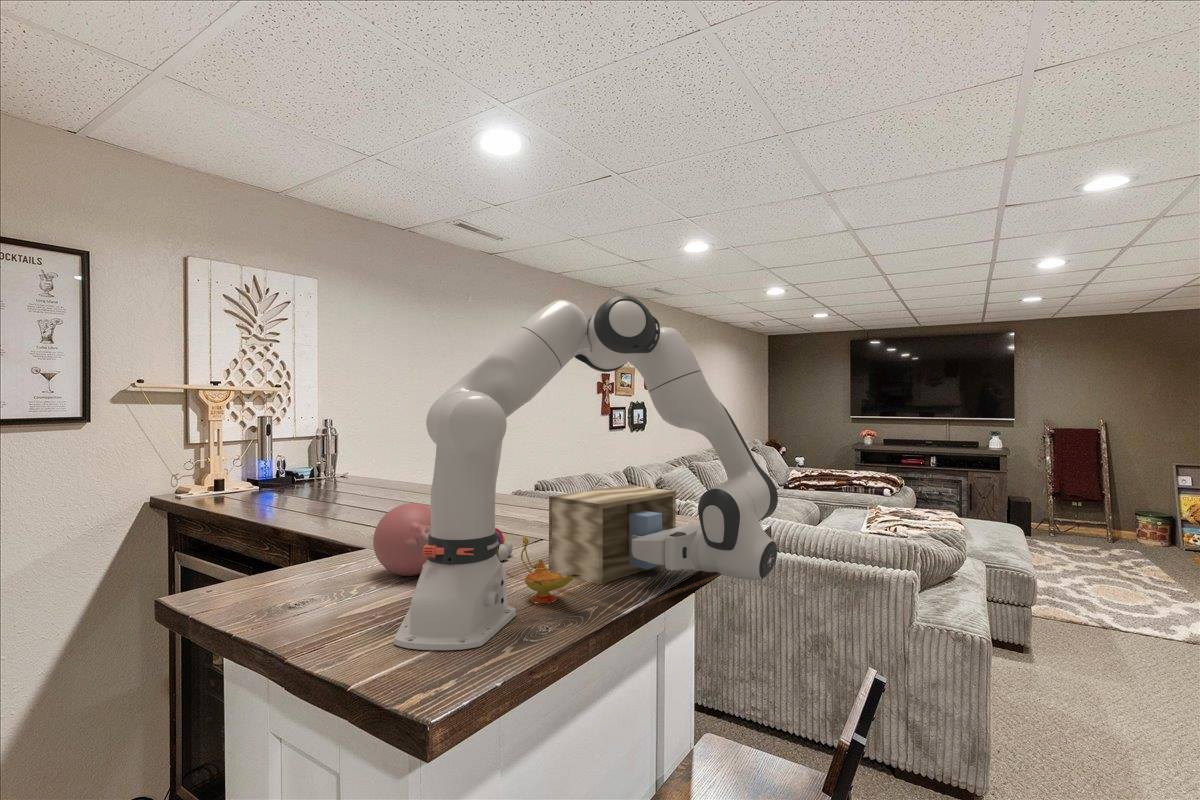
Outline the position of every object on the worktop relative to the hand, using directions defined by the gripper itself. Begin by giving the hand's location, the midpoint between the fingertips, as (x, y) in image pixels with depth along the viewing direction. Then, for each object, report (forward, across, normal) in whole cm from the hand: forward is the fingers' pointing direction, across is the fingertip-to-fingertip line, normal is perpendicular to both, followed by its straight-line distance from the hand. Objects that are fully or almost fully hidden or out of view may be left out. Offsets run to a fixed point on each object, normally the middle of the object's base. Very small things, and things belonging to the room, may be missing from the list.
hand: (642, 536), depth 127 cm
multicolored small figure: (+36, +13, +9) cm, 39 cm away
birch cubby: (+8, 0, +9) cm, 11 cm away
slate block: (-1, 0, +6) cm, 6 cm away
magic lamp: (+2, +25, +9) cm, 27 cm away
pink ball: (+35, +34, +9) cm, 50 cm away
